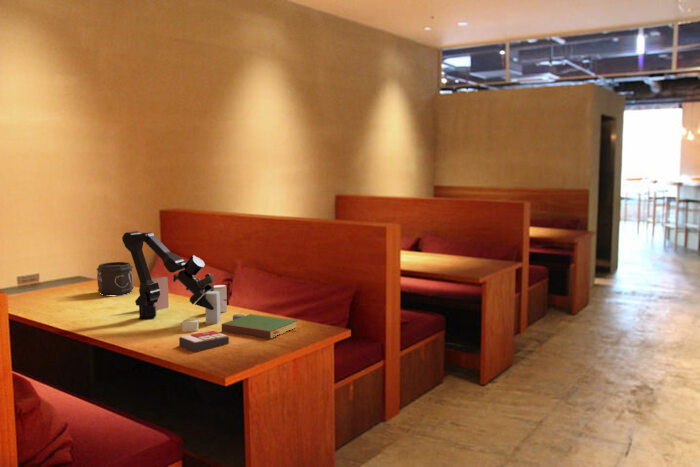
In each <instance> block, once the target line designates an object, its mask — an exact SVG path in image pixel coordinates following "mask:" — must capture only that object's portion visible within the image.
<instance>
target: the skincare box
mask: <svg viewBox="0 0 700 467" xmlns="http://www.w3.org/2000/svg"><path fill="white" fill-rule="evenodd" d="M213 286H214V287H213V288H214V291H220V313H226V312H228V308H227V307H228V305H227V304H228V301H227V298H228V297H227V296H228V295H227V293H228V292H227V285H225V284H219V285H218V284H217V285H216V284H215V285H213Z"/></svg>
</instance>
